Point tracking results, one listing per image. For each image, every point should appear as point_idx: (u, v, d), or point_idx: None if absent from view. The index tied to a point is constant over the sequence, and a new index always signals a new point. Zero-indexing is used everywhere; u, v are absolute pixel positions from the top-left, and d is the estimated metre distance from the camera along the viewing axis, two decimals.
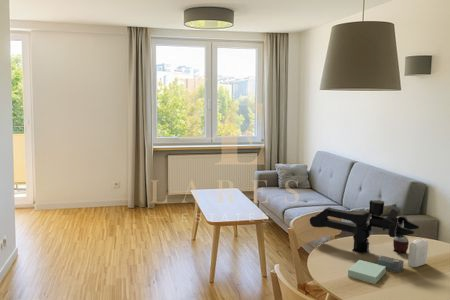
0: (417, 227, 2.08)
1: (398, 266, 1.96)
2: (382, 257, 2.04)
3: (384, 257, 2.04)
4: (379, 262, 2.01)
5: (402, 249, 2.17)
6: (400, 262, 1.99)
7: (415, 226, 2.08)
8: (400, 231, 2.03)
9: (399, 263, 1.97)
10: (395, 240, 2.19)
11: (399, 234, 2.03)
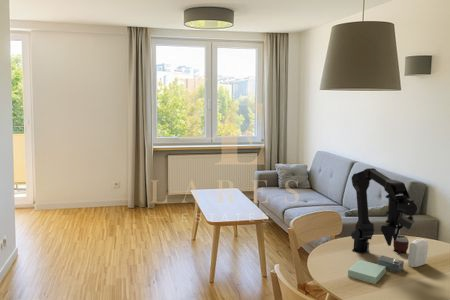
0: (394, 238, 2.03)
1: (397, 266, 1.96)
2: (382, 257, 2.04)
3: (384, 257, 2.04)
4: (378, 262, 2.01)
5: (402, 249, 2.17)
6: (400, 262, 1.98)
7: (395, 237, 2.03)
8: (388, 234, 1.94)
9: (399, 263, 1.97)
10: (395, 240, 2.19)
11: (384, 233, 1.95)
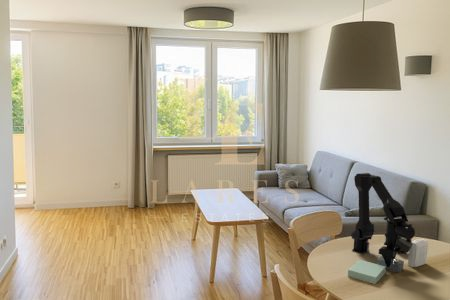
0: None
1: (397, 266, 1.96)
2: (382, 257, 2.04)
3: None
4: (378, 261, 2.02)
5: None
6: (400, 262, 1.98)
7: None
8: (387, 255, 1.97)
9: (398, 263, 1.97)
10: None
11: (383, 255, 1.97)
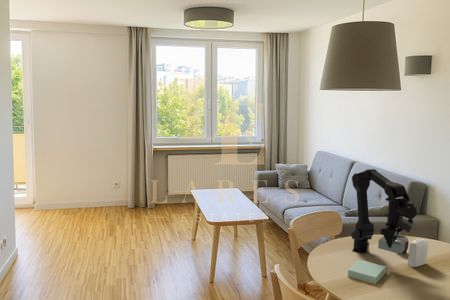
0: None
1: (399, 246, 1.94)
2: (384, 238, 2.02)
3: None
4: (380, 242, 2.00)
5: None
6: (402, 243, 1.97)
7: None
8: (388, 236, 1.96)
9: (400, 243, 1.96)
10: None
11: (385, 235, 1.96)
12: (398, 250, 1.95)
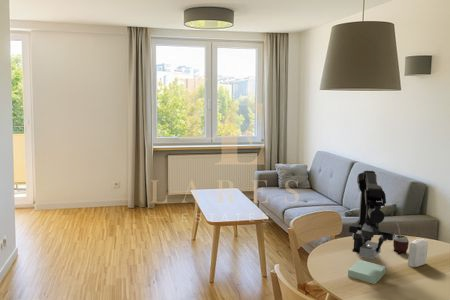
0: None
1: None
2: (375, 243, 1.95)
3: (376, 244, 1.94)
4: None
5: (402, 249, 2.17)
6: (368, 248, 1.89)
7: None
8: None
9: (364, 247, 1.89)
10: (395, 240, 2.19)
11: None
12: None
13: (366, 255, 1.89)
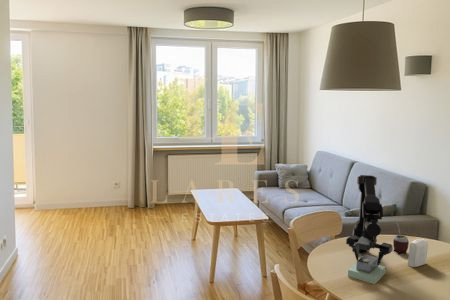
0: None
1: None
2: (372, 257, 1.95)
3: (373, 258, 1.94)
4: None
5: (402, 249, 2.17)
6: (364, 262, 1.89)
7: None
8: None
9: (361, 261, 1.90)
10: (395, 240, 2.19)
11: None
12: None
13: (363, 269, 1.89)
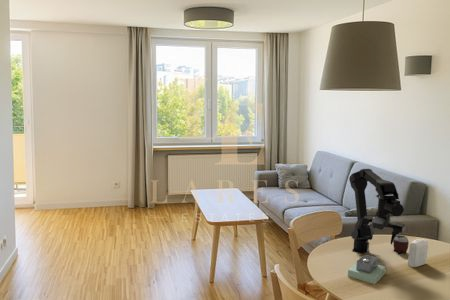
0: None
1: None
2: (372, 257, 1.95)
3: (373, 258, 1.94)
4: None
5: (402, 249, 2.17)
6: (364, 262, 1.89)
7: None
8: None
9: (361, 261, 1.90)
10: (395, 240, 2.19)
11: None
12: None
13: (363, 269, 1.89)
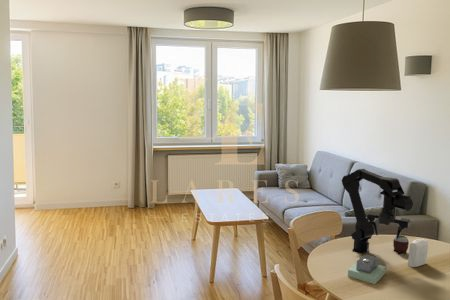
0: None
1: None
2: (372, 257, 1.95)
3: (373, 258, 1.94)
4: None
5: (402, 249, 2.17)
6: (364, 262, 1.89)
7: None
8: None
9: (361, 261, 1.90)
10: (395, 240, 2.19)
11: None
12: None
13: (363, 269, 1.89)
